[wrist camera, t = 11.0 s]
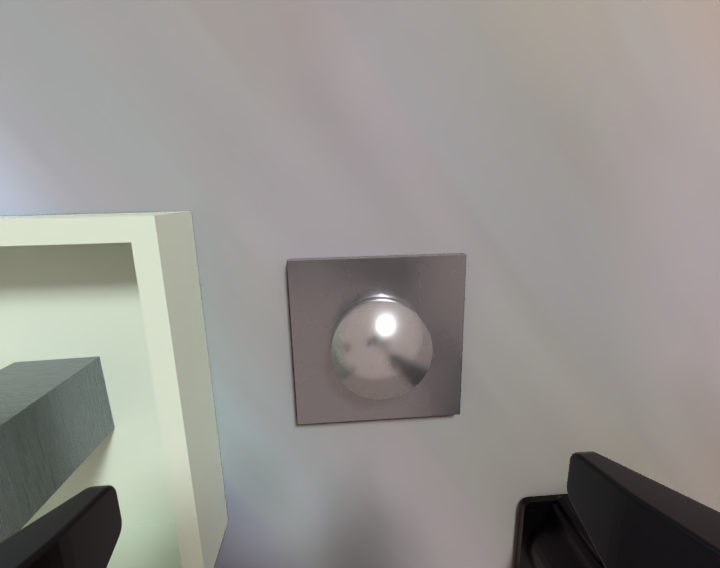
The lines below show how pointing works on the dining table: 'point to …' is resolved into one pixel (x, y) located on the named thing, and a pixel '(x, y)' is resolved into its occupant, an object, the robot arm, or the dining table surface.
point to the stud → (377, 336)
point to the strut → (46, 430)
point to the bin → (126, 368)
